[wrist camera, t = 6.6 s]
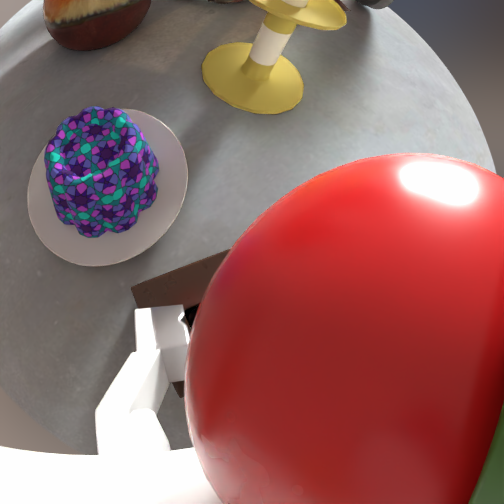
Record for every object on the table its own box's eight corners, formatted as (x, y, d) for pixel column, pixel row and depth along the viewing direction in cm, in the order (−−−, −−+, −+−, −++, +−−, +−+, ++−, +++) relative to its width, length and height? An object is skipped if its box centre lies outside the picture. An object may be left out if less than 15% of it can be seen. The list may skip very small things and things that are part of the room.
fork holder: (258, 341, 19) (284, 349, 15) (176, 377, 17) (180, 398, 13) (223, 258, 19) (240, 244, 15) (138, 291, 17) (130, 287, 13)
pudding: (68, 302, 16) (35, 299, 11) (16, 162, 16) (-11, 127, 11) (218, 211, 20) (237, 179, 15) (145, 93, 20) (146, 47, 15)
